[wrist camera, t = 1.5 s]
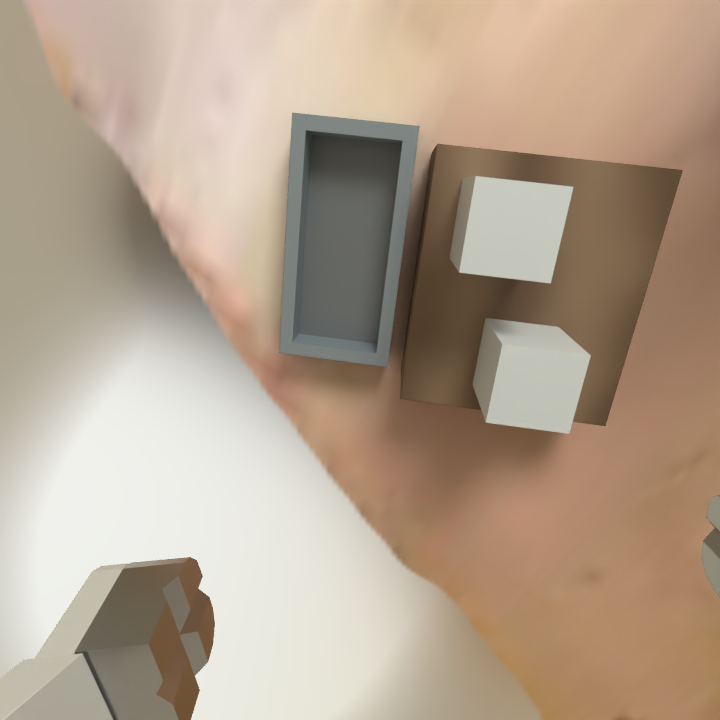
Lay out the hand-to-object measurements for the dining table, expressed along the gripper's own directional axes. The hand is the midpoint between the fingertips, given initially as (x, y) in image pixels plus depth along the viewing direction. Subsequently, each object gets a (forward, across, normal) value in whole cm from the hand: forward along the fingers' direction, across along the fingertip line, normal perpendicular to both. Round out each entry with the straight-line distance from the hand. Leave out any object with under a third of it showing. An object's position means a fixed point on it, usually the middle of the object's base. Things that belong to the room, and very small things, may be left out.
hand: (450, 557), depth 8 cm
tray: (+26, -2, +2) cm, 26 cm away
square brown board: (+25, +8, -2) cm, 26 cm away
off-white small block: (+20, +7, -5) cm, 21 cm away
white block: (+20, +6, +2) cm, 21 cm away
